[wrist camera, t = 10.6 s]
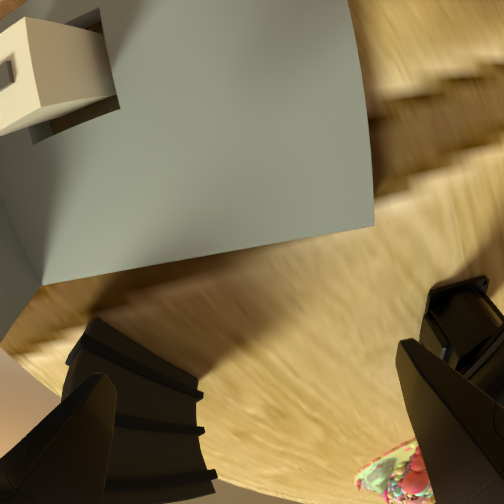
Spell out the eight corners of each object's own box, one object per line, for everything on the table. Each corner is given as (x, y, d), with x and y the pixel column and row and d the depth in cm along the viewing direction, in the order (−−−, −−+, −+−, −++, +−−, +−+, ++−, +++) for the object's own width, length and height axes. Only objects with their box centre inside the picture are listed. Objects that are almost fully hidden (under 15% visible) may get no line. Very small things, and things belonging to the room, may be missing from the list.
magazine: (56, 301, 21) (77, 508, 11) (188, 335, 30) (239, 486, 20) (43, 326, 22) (62, 510, 12) (167, 354, 31) (210, 495, 22)
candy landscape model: (496, 417, 39) (514, 455, 31) (425, 477, 50) (435, 509, 42) (397, 434, 36) (413, 489, 28) (328, 491, 47) (334, 532, 39)
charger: (104, 34, 14) (20, 16, 7) (117, 94, 16) (36, 108, 9) (50, 60, 14) (-43, 65, 7) (63, 116, 16) (-27, 146, 9)
